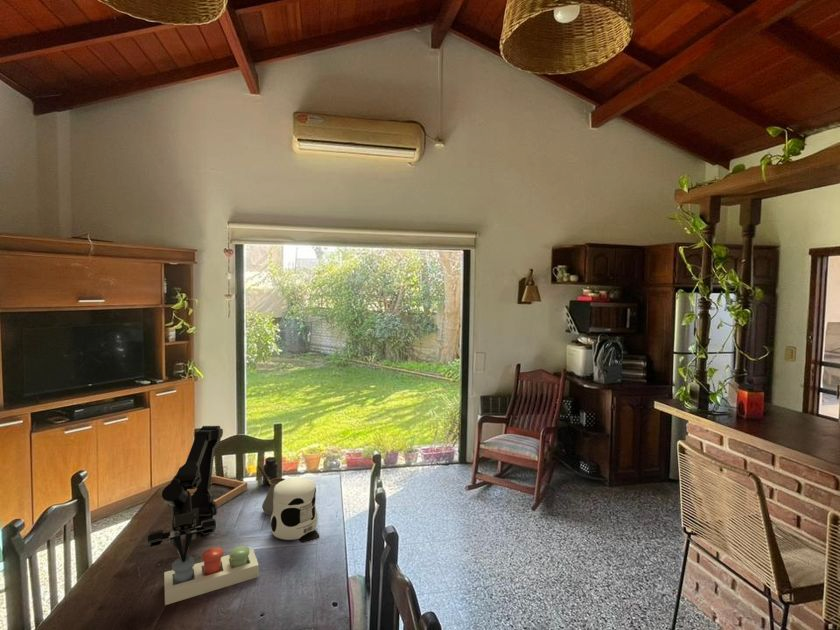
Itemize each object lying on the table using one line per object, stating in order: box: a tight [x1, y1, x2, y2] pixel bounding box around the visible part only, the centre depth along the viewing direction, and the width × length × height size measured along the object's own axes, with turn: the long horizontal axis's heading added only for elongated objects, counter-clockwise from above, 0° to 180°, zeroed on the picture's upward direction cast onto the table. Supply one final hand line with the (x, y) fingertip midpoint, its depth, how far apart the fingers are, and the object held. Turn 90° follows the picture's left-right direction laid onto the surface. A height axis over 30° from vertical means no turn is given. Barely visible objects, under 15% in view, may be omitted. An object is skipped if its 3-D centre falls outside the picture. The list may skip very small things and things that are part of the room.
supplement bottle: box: [262, 456, 279, 487], centre depth 204 cm, size 7×7×12 cm
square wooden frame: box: [187, 474, 248, 508], centre depth 192 cm, size 20×19×3 cm
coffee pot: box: [255, 465, 286, 517], centre depth 182 cm, size 21×12×15 cm, turn 49°
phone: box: [298, 529, 320, 544], centre depth 166 cm, size 7×1×15 cm
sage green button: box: [229, 545, 250, 569], centre depth 140 cm, size 6×6×6 cm
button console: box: [163, 548, 260, 606], centre depth 136 cm, size 10×26×4 cm, turn 121°
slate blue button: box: [171, 555, 196, 585], centre depth 132 cm, size 6×6×6 cm
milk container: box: [270, 477, 319, 542], centre depth 164 cm, size 17×17×18 cm
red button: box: [201, 547, 224, 576], centre depth 136 cm, size 6×6×6 cm
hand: (183, 561), depth 132 cm, fingers closed, pressing on slate blue button
